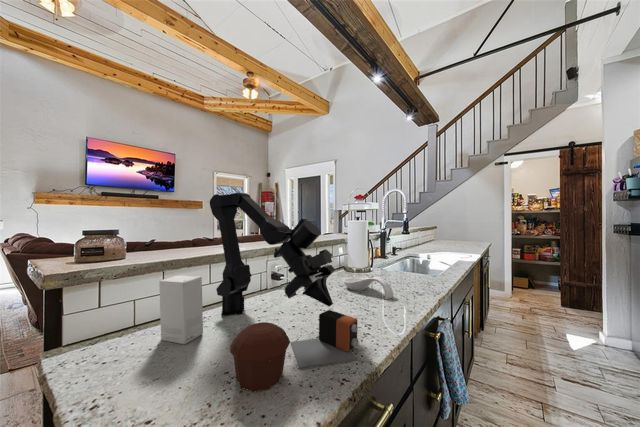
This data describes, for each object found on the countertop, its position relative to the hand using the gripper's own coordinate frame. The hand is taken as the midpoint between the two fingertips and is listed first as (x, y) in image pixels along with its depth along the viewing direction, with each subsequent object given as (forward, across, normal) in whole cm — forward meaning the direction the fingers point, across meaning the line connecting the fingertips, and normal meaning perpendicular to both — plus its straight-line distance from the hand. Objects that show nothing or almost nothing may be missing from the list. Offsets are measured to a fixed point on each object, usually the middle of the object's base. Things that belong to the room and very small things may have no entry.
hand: (331, 305), depth 67 cm
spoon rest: (+3, +44, +10) cm, 45 cm away
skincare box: (-18, -19, +30) cm, 40 cm away
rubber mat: (+7, -7, +5) cm, 11 cm away
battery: (+2, -2, +4) cm, 5 cm away
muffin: (+2, -21, +10) cm, 24 cm away
